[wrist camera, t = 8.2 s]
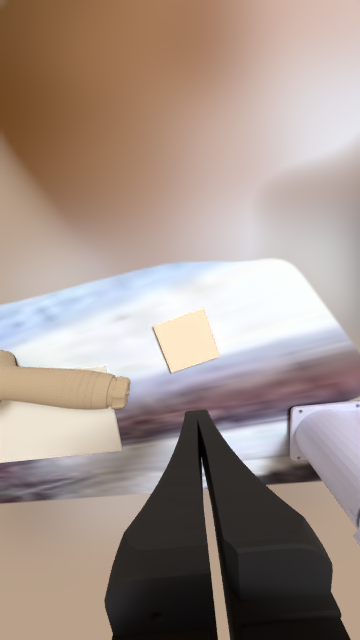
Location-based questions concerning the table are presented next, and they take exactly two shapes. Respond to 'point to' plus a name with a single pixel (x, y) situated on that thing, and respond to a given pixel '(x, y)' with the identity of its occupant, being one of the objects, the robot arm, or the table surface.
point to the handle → (61, 386)
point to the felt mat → (55, 430)
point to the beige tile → (187, 340)
